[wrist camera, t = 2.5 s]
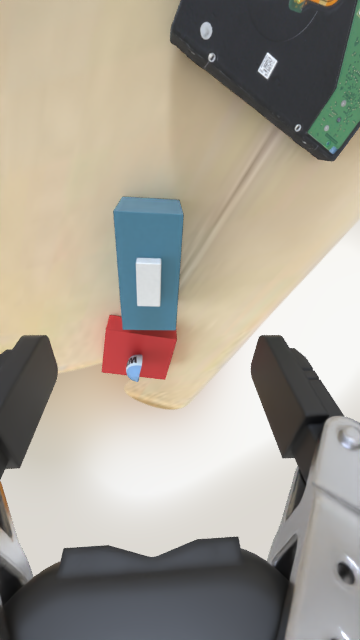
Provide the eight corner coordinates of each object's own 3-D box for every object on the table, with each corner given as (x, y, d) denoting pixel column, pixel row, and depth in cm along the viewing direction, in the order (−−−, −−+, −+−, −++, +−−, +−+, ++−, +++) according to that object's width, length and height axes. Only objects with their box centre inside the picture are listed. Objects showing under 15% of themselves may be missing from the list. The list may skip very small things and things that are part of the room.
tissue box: (128, 300, 30) (121, 337, 24) (122, 196, 24) (110, 214, 18) (173, 301, 30) (176, 338, 25) (179, 199, 24) (184, 218, 19)
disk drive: (167, 47, 18) (318, 161, 23) (167, 34, 16) (335, 164, 21) (257, -205, 13) (429, 5, 18) (276, -276, 11) (467, -14, 16)
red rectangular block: (105, 356, 35) (95, 395, 29) (109, 315, 31) (99, 350, 26) (164, 364, 36) (165, 402, 31) (175, 325, 32) (178, 361, 27)
